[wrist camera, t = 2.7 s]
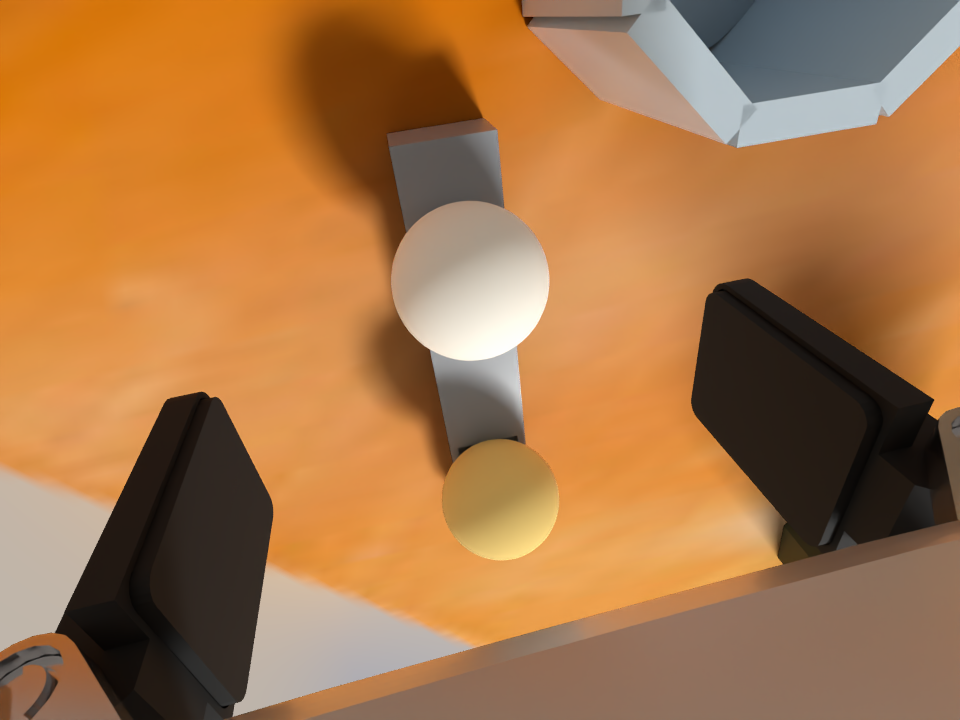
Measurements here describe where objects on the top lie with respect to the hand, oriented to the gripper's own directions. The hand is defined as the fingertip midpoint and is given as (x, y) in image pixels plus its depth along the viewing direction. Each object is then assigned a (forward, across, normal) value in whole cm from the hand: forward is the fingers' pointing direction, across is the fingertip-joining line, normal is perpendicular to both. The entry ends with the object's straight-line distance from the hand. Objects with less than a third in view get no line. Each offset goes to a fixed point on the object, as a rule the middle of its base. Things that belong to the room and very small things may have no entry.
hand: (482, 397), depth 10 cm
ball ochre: (+7, -1, +9) cm, 12 cm away
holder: (+9, -1, +5) cm, 10 cm away
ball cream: (+7, -1, 0) cm, 8 cm away
